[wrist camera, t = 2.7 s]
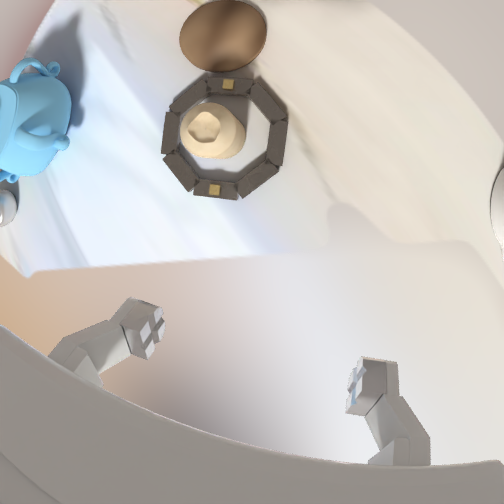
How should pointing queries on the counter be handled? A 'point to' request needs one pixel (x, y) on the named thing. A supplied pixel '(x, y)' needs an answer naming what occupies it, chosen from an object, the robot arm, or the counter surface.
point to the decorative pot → (32, 119)
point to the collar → (252, 178)
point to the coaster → (223, 36)
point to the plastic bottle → (7, 207)
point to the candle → (212, 132)
